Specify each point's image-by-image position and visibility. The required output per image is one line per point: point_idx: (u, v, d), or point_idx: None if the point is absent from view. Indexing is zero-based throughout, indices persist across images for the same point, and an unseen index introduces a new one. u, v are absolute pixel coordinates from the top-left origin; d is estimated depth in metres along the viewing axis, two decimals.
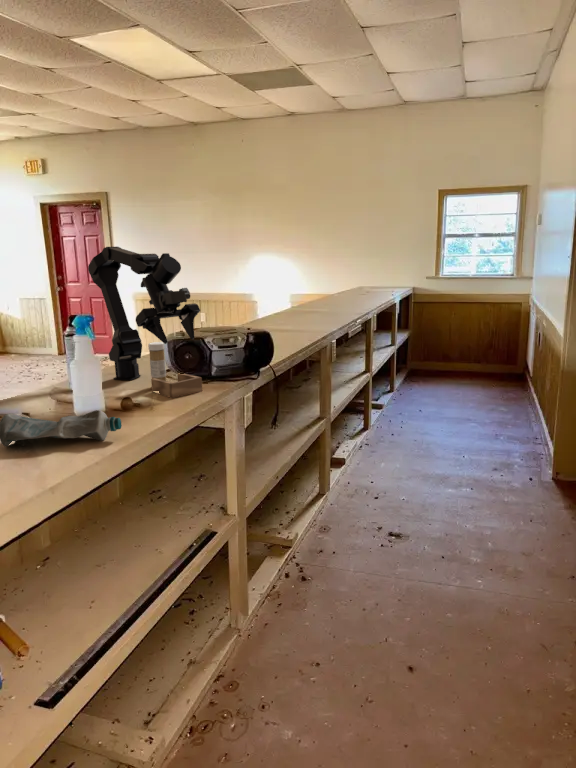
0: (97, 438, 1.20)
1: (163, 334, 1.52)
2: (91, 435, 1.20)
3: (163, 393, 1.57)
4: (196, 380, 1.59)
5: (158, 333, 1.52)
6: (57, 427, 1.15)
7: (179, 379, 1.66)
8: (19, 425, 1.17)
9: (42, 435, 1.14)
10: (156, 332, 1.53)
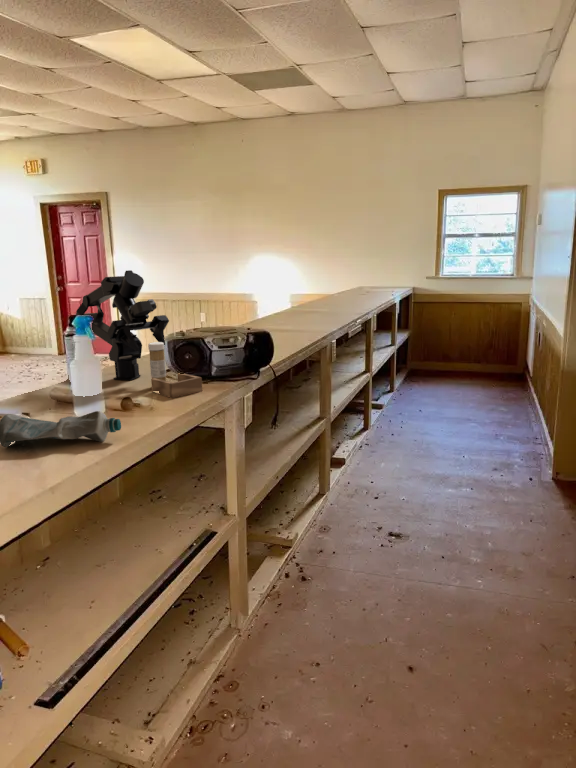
0: (96, 439, 1.19)
1: (134, 342, 1.63)
2: (90, 436, 1.20)
3: (163, 393, 1.57)
4: (196, 380, 1.59)
5: (129, 342, 1.63)
6: (56, 428, 1.14)
7: (179, 379, 1.66)
8: (19, 425, 1.16)
9: (41, 436, 1.13)
10: (128, 341, 1.64)
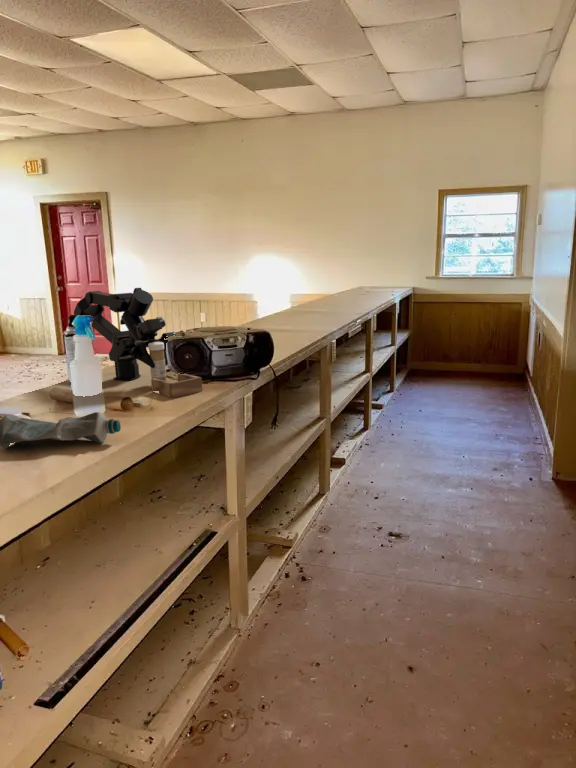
0: (96, 440, 1.19)
1: (150, 359, 1.63)
2: (90, 437, 1.19)
3: (163, 393, 1.57)
4: (196, 380, 1.59)
5: (145, 359, 1.63)
6: (55, 429, 1.14)
7: (179, 379, 1.66)
8: (18, 426, 1.15)
9: (40, 437, 1.12)
10: (144, 359, 1.64)
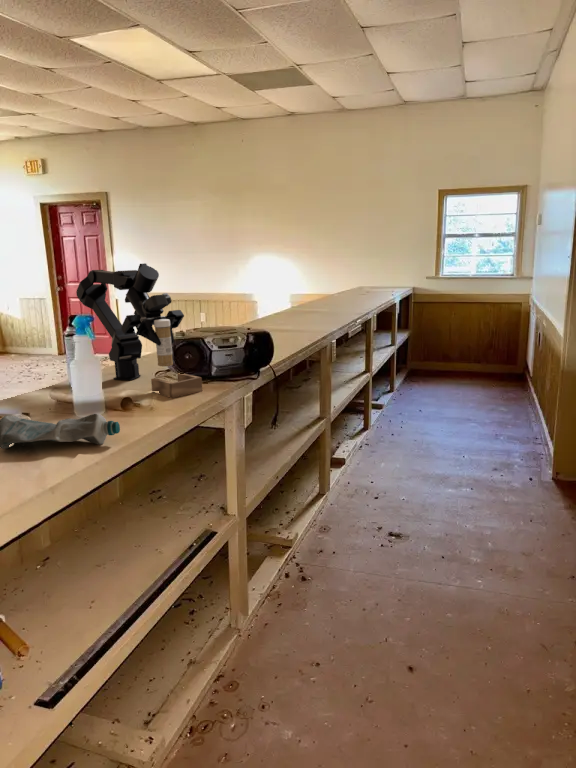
0: (95, 442, 1.18)
1: (156, 336, 1.59)
2: (89, 439, 1.18)
3: (163, 393, 1.57)
4: (196, 380, 1.59)
5: (151, 336, 1.59)
6: (53, 430, 1.13)
7: (179, 379, 1.66)
8: (17, 427, 1.15)
9: (38, 438, 1.12)
10: (149, 336, 1.59)
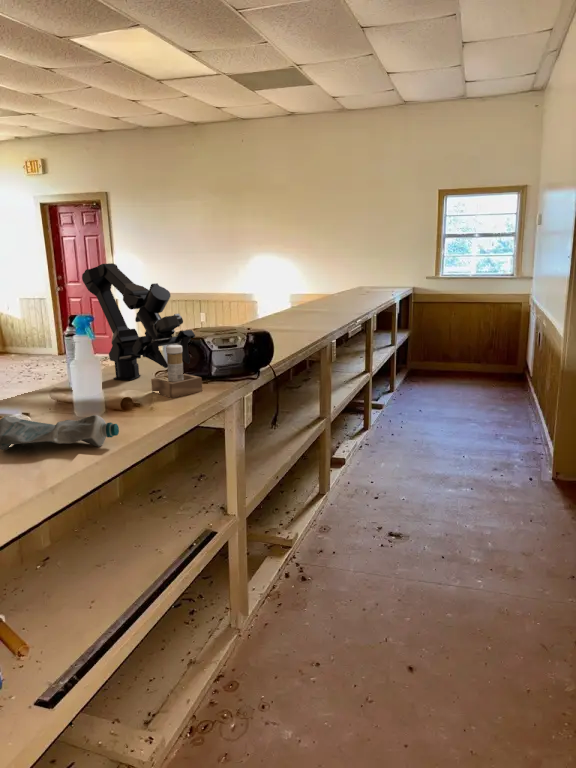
0: (94, 444, 1.16)
1: (163, 359, 1.56)
2: (88, 441, 1.17)
3: (163, 393, 1.57)
4: (196, 380, 1.59)
5: (158, 359, 1.56)
6: (51, 432, 1.12)
7: None
8: (16, 428, 1.14)
9: (36, 440, 1.11)
10: (156, 358, 1.56)
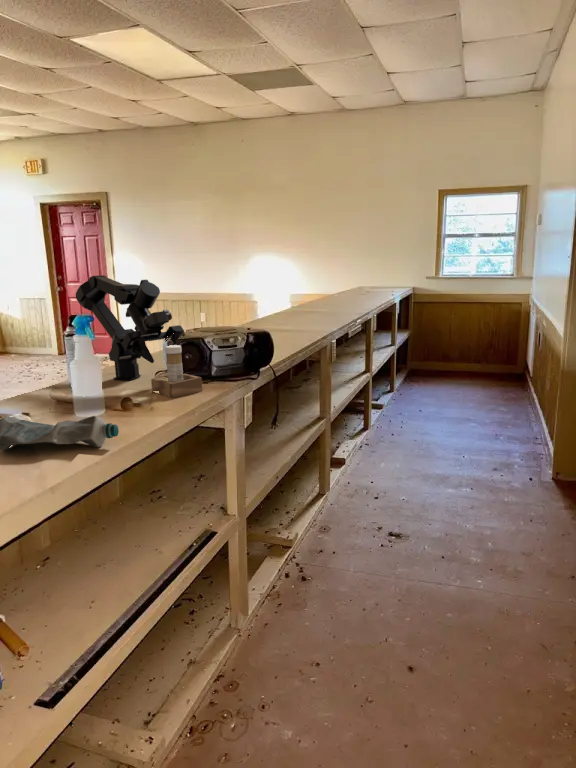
0: (93, 445, 1.16)
1: (149, 354, 1.58)
2: (87, 441, 1.16)
3: (163, 393, 1.57)
4: (196, 380, 1.59)
5: (144, 354, 1.59)
6: (51, 433, 1.12)
7: None
8: (15, 428, 1.14)
9: (35, 440, 1.10)
10: (142, 353, 1.59)
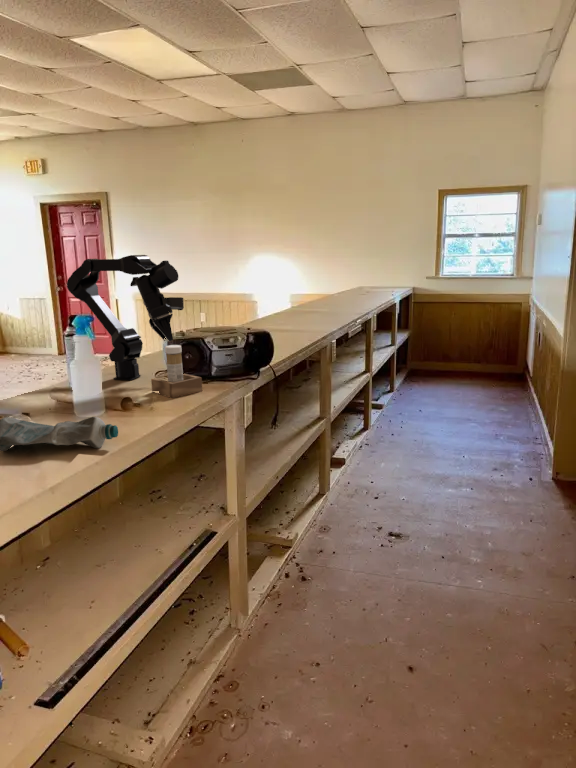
0: (93, 446, 1.15)
1: (171, 332, 1.64)
2: (87, 442, 1.16)
3: (163, 393, 1.57)
4: (196, 380, 1.59)
5: (167, 330, 1.63)
6: (50, 433, 1.11)
7: None
8: (15, 429, 1.13)
9: (34, 441, 1.10)
10: (164, 328, 1.63)
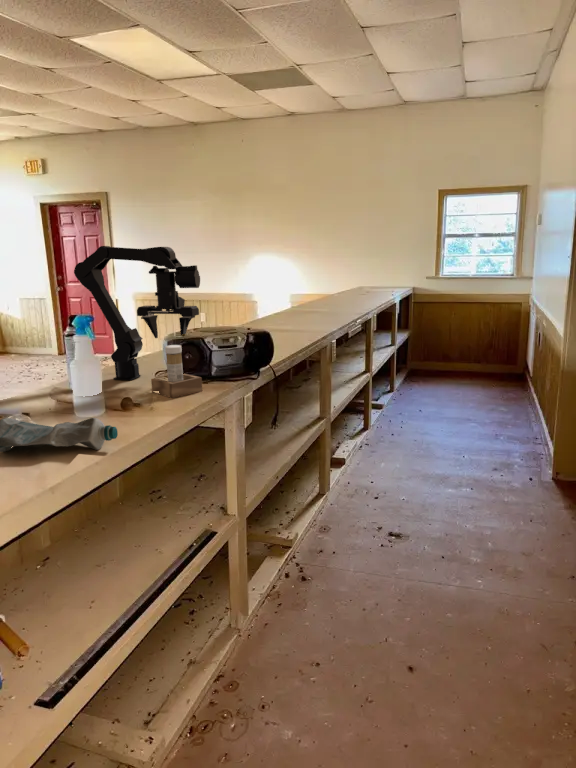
0: (92, 447, 1.15)
1: None
2: (86, 444, 1.15)
3: (163, 393, 1.57)
4: (196, 380, 1.59)
5: (185, 328, 1.73)
6: (49, 435, 1.10)
7: None
8: (14, 430, 1.13)
9: (33, 442, 1.09)
10: (185, 326, 1.72)
